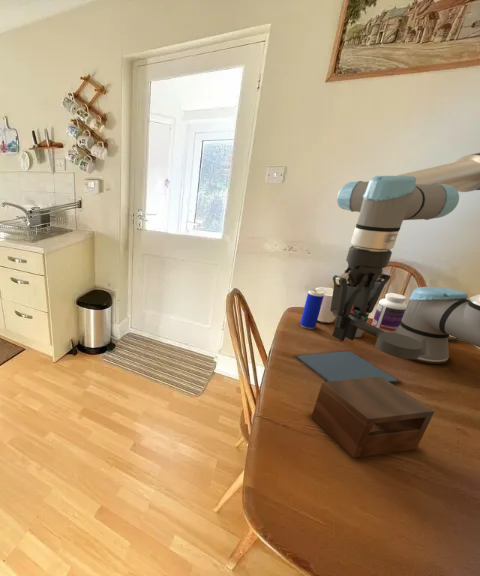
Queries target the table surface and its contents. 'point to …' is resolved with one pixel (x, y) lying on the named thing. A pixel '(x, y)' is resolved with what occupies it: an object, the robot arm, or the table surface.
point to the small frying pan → (390, 340)
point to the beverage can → (312, 308)
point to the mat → (343, 366)
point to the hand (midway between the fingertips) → (342, 337)
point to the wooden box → (370, 416)
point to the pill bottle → (389, 312)
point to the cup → (326, 306)
